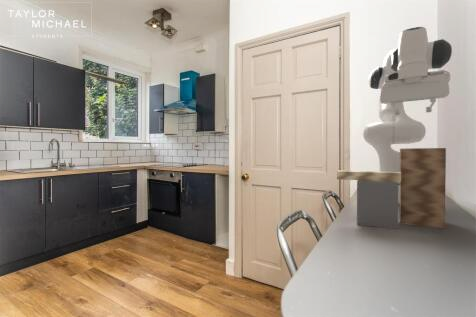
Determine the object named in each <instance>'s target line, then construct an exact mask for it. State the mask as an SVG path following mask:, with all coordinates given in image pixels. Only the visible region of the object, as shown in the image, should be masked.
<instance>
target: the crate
mask: <svg viewBox="0 0 476 317" xmlns="http://www.w3.org/2000/svg"><path fill="white" fill-rule="evenodd" d="M356 225H361V226H369V227H376V228H377V227H378V228H383V229H385V228H386V229H391V228H392V229H393V230H399V203H398V182H389V181H366V180H356ZM392 229H391V230H392Z"/></svg>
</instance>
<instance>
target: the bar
mask: <svg viewBox="0 0 476 317" xmlns="http://www.w3.org/2000/svg"><path fill="white" fill-rule="evenodd" d="M336 179H337V180H344V181H345V180H346V181H349V180H350V181H358V180H366V181H389V182H401V172H380V171H374V170H373V171H369V170H368V171H365V170H364V171H363V170H337V171H336Z"/></svg>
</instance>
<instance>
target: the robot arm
mask: <svg viewBox="0 0 476 317" xmlns="http://www.w3.org/2000/svg"><path fill="white" fill-rule="evenodd" d="M452 51H453V50H452V45H451V43H450V42H448V41H447V40H446V39H443V38H441V39H437V40H434V41H429V38H428V32H427V28H426V27H424V26H416V27H411V28H407V29H405V30H403V31H401V32H400V34H399V38H398V46H397V48H395V49H392V50H390V51H389V52H388V53H387V54H386V56H385V57H384V60H383V66H381V65H378V66H377V67H376V68H374V69H373V70H372V71H371V72H370V74H369V76H368V85H369V88H370V89H373V90H379V89H380V96H379V100H378V101H379V102H378V117H379V119H380V120H381V121H380V122H374V123H370V124H367V125H366V126H365V127H364V129H363V134H362V135H363V139H364V141H365V142H366V143H368V144H369V145H370V146H371V147H372V148H374V150H375V151H376V153H377V156H378V159H379V162H378V163H379V172H400V151H397V150H395V149H394V148H392V145H404V144H406V145H408V144H416V143H419V142H421V141H422V140H424V138H425V136H426V131H427V129H426V127H425V125H424V124H423V123H422V122H421V121H418V120H416V119H413V118H412V117H410V116H409V115H408V114H407V112H406V110H405V107H404V103H406V102H413V101H414V102H417V101H424V100H425V101H426V100H429V103H430V105H429V106H426V107H425V113H433V112H432V111H433V108H432V107H433V106H434V105H435V103H436V101H437V99H445V98H447V97H448V96H449V95H450V85H449V82H450V81H451V73H450V72H449V71H447V70H444V69H443V70H436V71H429V70H435V69H441V68H443V67H444V66H445V65H447V63H448V62H449V61H450V60H451V57H452V54H453V52H452ZM399 204H400V182H398V205H399Z"/></svg>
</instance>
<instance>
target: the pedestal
mask: <svg viewBox="0 0 476 317" xmlns="http://www.w3.org/2000/svg"><path fill="white" fill-rule="evenodd" d="M399 152H400V172H401V182H400V204H399V203H398V218H399V221H400V224H404V225H412V226H419V227H420V226H422V227H430V228H438V229H440V228H441V229H445V228H446V177H447V176H446V173H447V172H446V171H447V170H446V167H447V166H446V164H447V162H446V161H447V148H446V147H437V148H436V147H420V148H419V147H418V148H399Z"/></svg>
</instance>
